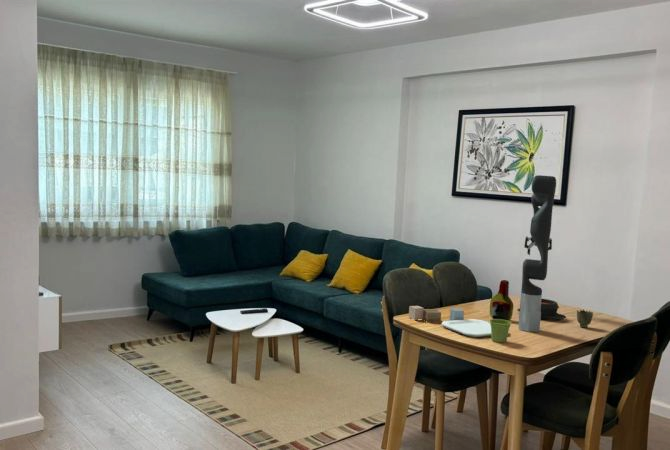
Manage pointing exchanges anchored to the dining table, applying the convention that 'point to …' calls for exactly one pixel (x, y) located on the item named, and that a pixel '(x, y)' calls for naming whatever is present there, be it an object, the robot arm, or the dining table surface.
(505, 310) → the bottle
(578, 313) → the cup
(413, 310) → the pale pinkish block
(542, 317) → the casserole
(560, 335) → the dining table surface
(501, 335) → the plant pot
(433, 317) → the walnut block
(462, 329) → the plate
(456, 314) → the grey cube
